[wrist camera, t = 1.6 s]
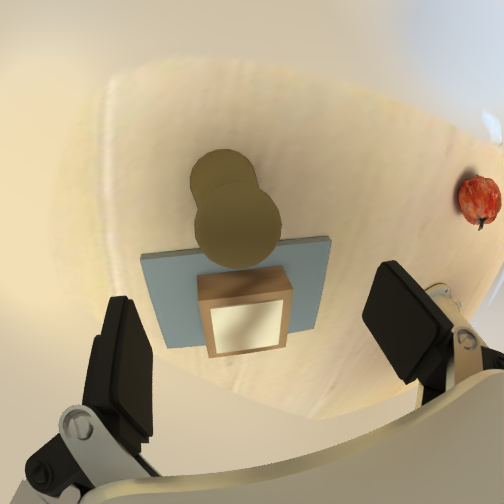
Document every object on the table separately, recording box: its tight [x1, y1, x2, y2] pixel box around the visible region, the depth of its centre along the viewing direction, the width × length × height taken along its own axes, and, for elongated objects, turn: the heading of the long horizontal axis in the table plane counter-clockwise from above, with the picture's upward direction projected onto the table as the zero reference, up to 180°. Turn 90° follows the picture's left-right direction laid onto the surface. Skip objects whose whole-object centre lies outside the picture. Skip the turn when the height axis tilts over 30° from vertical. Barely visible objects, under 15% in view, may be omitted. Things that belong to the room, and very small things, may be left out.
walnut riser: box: [197, 266, 293, 358], centre depth 29 cm, size 9×9×4 cm
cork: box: [190, 149, 282, 269], centre depth 19 cm, size 6×6×11 cm
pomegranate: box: [459, 175, 501, 231], centre depth 27 cm, size 7×7×10 cm
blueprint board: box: [140, 236, 332, 349], centre depth 31 cm, size 20×14×1 cm
